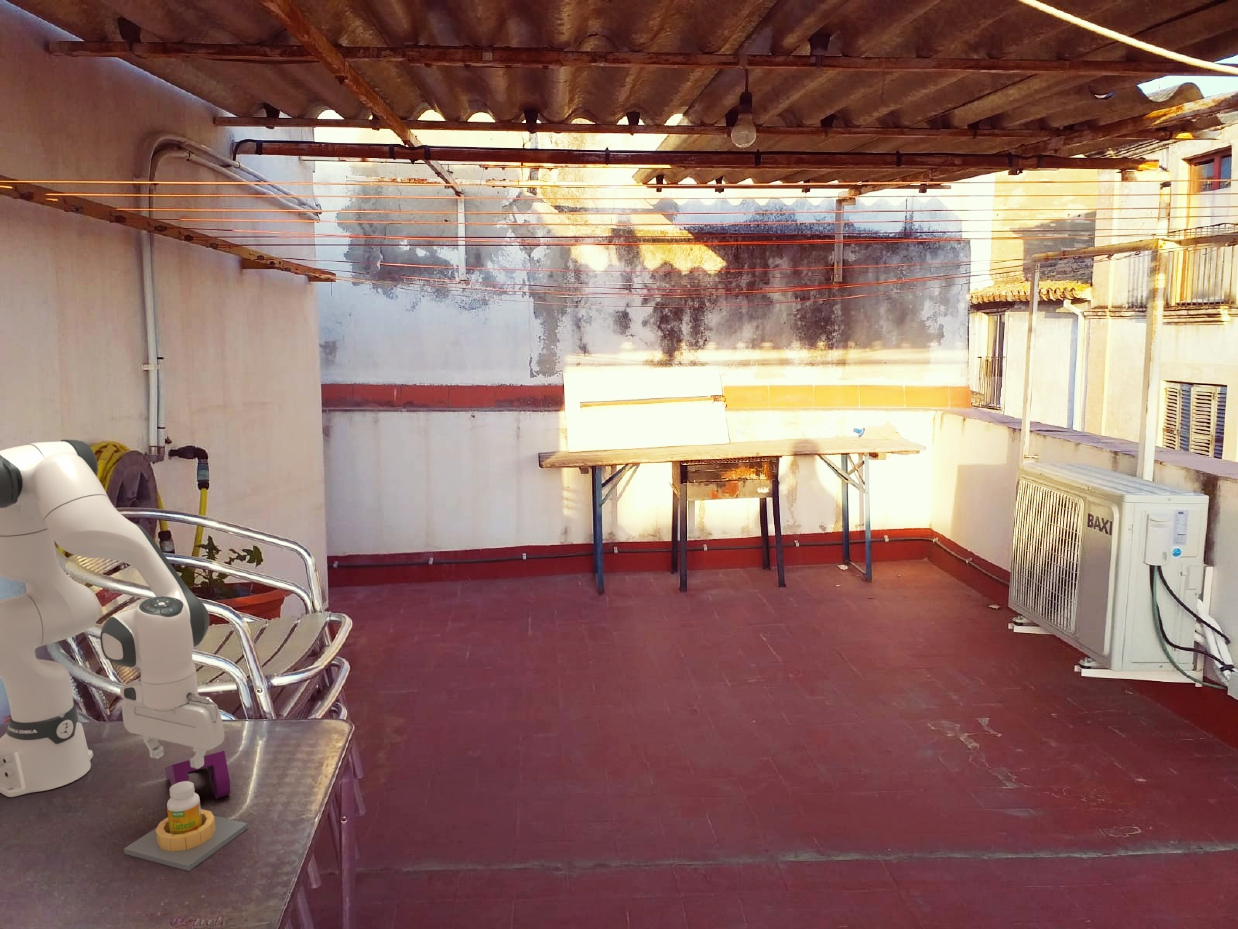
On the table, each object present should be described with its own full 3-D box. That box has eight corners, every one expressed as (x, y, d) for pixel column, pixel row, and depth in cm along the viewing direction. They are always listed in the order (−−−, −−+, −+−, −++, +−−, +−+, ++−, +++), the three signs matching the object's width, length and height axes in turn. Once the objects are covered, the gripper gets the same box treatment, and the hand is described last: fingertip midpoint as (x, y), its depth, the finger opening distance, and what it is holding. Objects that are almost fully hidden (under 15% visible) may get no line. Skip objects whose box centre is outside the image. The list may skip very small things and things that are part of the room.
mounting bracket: (169, 810, 196) (179, 809, 181) (162, 769, 197) (172, 764, 183) (218, 796, 201) (232, 794, 186) (211, 755, 202) (224, 750, 188)
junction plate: (124, 854, 170) (122, 836, 170) (186, 813, 183) (184, 797, 182) (188, 871, 165) (186, 852, 164) (247, 828, 177) (246, 811, 177)
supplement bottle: (170, 847, 170) (164, 797, 168) (170, 832, 175) (165, 783, 173) (203, 840, 172) (198, 790, 170) (203, 825, 177) (197, 776, 175)
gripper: (229, 691, 168) (235, 764, 170) (141, 673, 175) (149, 743, 178) (201, 706, 162) (208, 781, 165) (112, 687, 169) (120, 759, 172)
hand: (177, 761), depth 171 cm, fingers open, 8 cm apart
